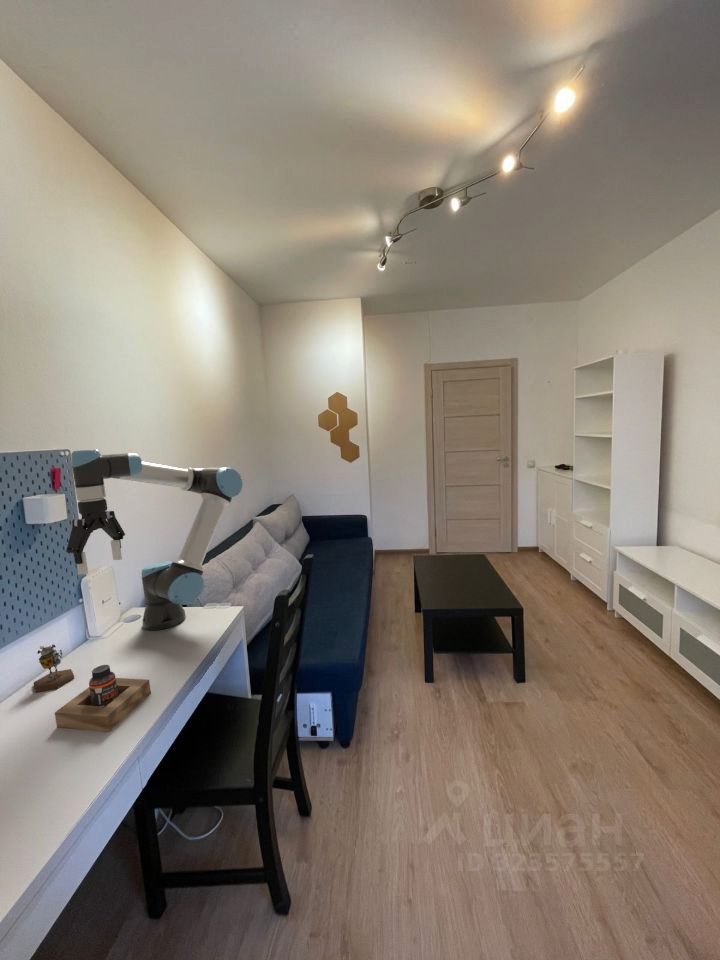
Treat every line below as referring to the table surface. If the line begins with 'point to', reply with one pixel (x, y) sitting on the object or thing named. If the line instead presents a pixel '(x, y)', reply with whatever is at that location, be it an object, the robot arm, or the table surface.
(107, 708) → the socket block
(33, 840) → the table surface
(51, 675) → the robot figurine
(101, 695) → the supplement bottle
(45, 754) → the table surface
